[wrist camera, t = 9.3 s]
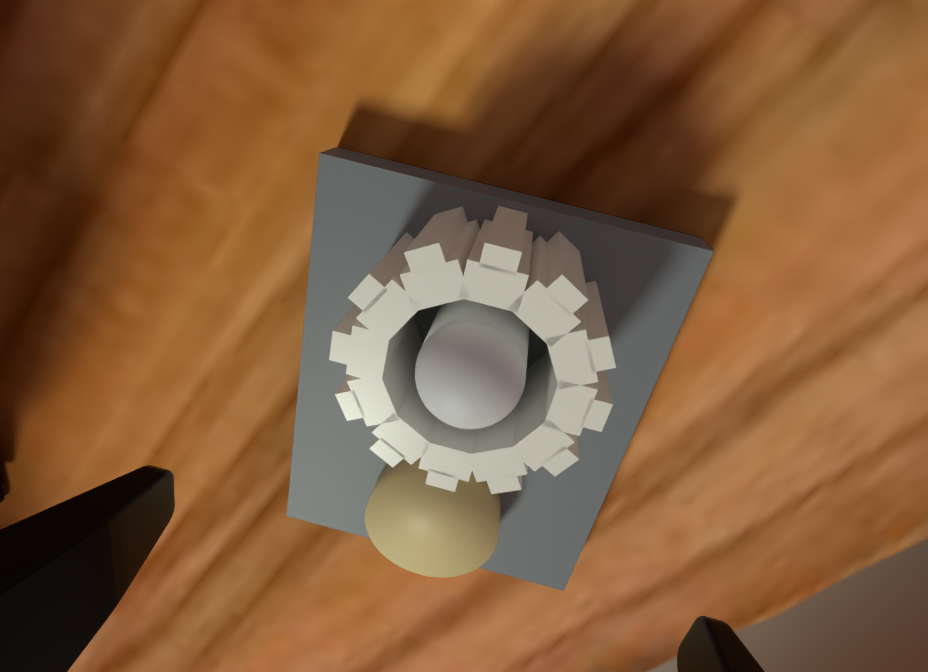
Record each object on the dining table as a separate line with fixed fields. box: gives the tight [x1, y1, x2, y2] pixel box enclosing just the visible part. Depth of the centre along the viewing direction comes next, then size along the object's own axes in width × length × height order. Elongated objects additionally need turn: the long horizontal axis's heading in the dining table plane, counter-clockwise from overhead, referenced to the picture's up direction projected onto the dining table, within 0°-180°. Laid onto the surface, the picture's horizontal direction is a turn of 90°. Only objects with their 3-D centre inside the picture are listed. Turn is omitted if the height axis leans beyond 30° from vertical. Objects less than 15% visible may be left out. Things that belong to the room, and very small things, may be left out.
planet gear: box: [329, 206, 616, 494], centre depth 16 cm, size 8×8×4 cm
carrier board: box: [287, 147, 714, 591], centre depth 18 cm, size 12×15×6 cm
